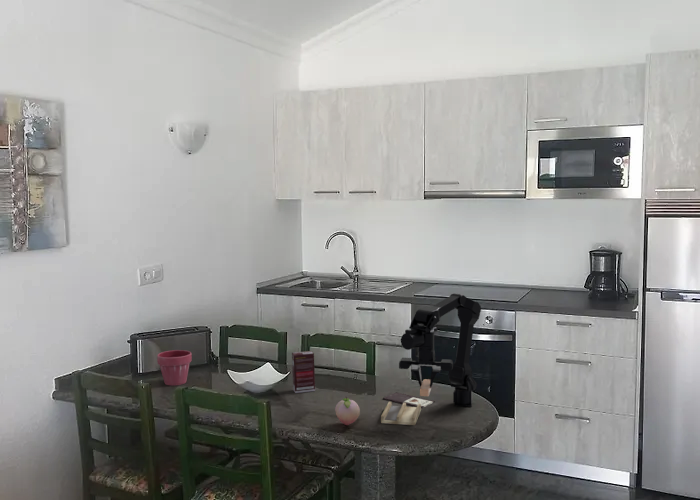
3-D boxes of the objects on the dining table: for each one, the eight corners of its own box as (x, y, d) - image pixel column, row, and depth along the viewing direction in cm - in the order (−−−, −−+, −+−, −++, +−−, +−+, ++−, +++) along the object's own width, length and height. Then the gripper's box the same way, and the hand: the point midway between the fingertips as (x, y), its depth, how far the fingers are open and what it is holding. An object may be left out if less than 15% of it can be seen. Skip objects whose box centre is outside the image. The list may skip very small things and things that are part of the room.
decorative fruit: (363, 428, 233) (362, 400, 232) (340, 431, 231) (340, 402, 230) (355, 419, 242) (355, 392, 241) (333, 421, 240) (332, 394, 239)
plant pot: (186, 376, 300) (185, 347, 299) (197, 383, 288) (195, 354, 287) (154, 381, 293) (153, 352, 292) (163, 389, 281) (162, 359, 280)
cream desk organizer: (420, 410, 250) (420, 403, 250) (415, 425, 235) (414, 418, 235) (388, 408, 253) (388, 401, 253) (381, 423, 238) (381, 416, 237)
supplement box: (312, 387, 280) (312, 350, 278) (315, 391, 275) (314, 353, 274) (292, 389, 278) (291, 352, 276) (294, 393, 273) (293, 355, 271)
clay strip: (432, 386, 246) (432, 379, 246) (428, 396, 235) (428, 389, 234) (423, 385, 247) (423, 379, 247) (419, 395, 235) (419, 388, 235)
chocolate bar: (396, 392, 271) (434, 400, 259) (396, 394, 271) (434, 403, 259) (383, 397, 264) (421, 407, 252) (383, 400, 264) (421, 409, 252)
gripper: (453, 340, 245) (453, 382, 247) (402, 338, 249) (403, 380, 250) (452, 347, 234) (451, 391, 236) (398, 345, 238) (398, 389, 240)
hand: (426, 387), depth 241 cm, fingers closed on clay strip, 3 cm apart
